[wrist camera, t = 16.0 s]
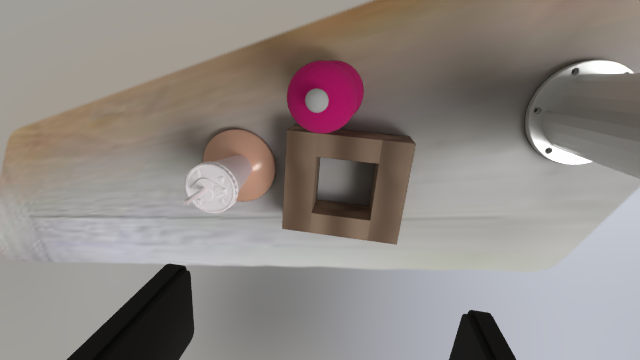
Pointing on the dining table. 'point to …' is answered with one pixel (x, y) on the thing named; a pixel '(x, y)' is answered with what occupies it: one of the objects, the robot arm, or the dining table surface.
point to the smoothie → (217, 183)
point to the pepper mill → (324, 95)
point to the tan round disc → (254, 151)
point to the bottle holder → (343, 217)
